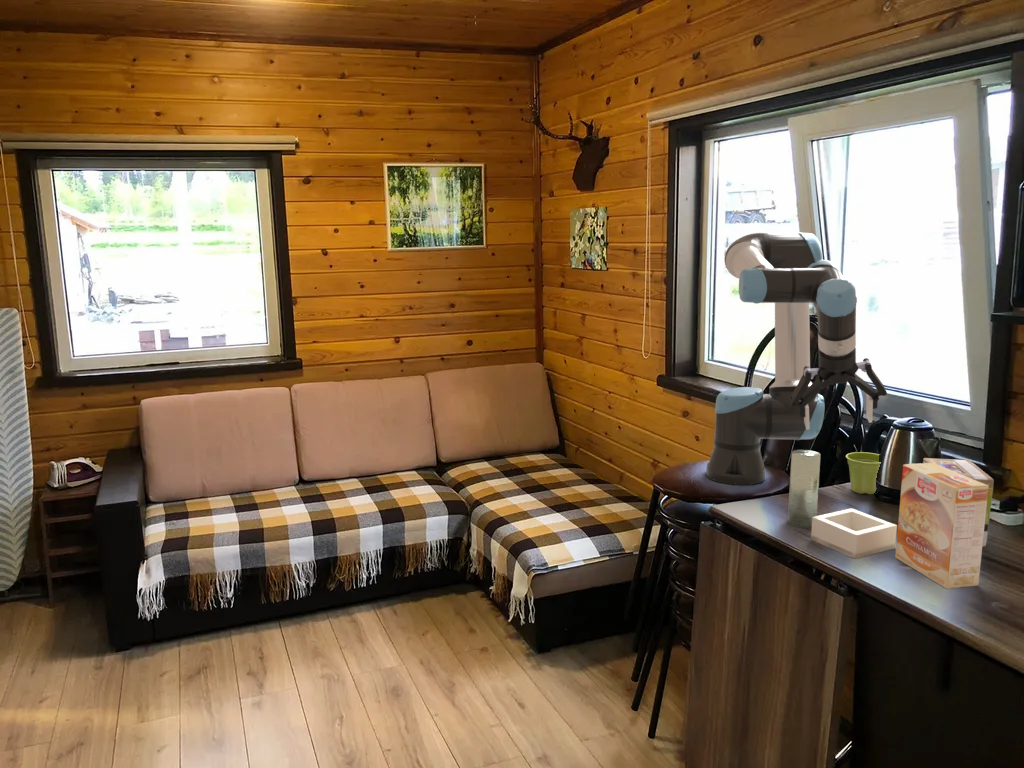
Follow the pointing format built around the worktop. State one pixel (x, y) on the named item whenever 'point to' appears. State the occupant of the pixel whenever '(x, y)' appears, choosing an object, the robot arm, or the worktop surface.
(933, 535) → the coffeecake box
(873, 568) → the worktop surface
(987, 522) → the tea box
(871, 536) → the well
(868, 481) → the plant pot
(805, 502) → the canister
